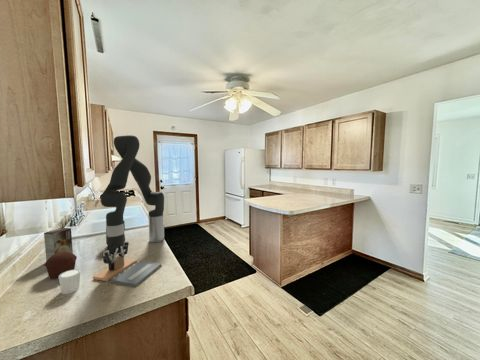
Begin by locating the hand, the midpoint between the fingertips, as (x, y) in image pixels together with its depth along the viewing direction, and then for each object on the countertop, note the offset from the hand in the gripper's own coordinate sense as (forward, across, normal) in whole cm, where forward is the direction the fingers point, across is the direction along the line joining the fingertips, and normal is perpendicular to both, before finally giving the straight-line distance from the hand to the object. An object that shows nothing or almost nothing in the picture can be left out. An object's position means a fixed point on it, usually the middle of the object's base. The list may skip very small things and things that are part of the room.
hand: (116, 267), depth 97 cm
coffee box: (+2, -2, -39) cm, 39 cm away
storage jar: (+2, -25, -25) cm, 35 cm away
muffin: (+2, +9, -22) cm, 24 cm away
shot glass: (+2, +17, -6) cm, 18 cm away
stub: (+1, 0, 0) cm, 1 cm away
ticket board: (+2, 0, +12) cm, 12 cm away
